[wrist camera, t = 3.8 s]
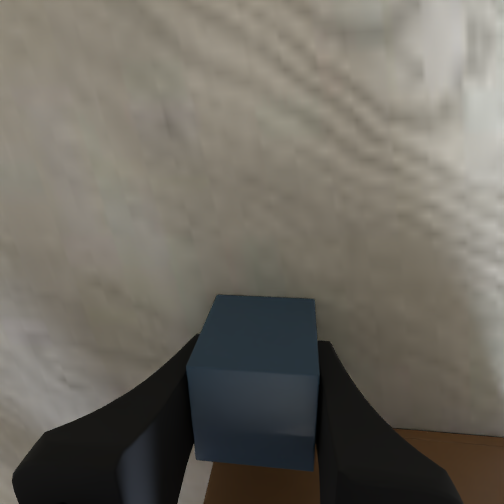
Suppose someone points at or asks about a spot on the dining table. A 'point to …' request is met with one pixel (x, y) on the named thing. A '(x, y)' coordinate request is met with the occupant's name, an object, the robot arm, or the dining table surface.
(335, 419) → the robot arm
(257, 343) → the block
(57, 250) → the dining table surface
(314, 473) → the carton
